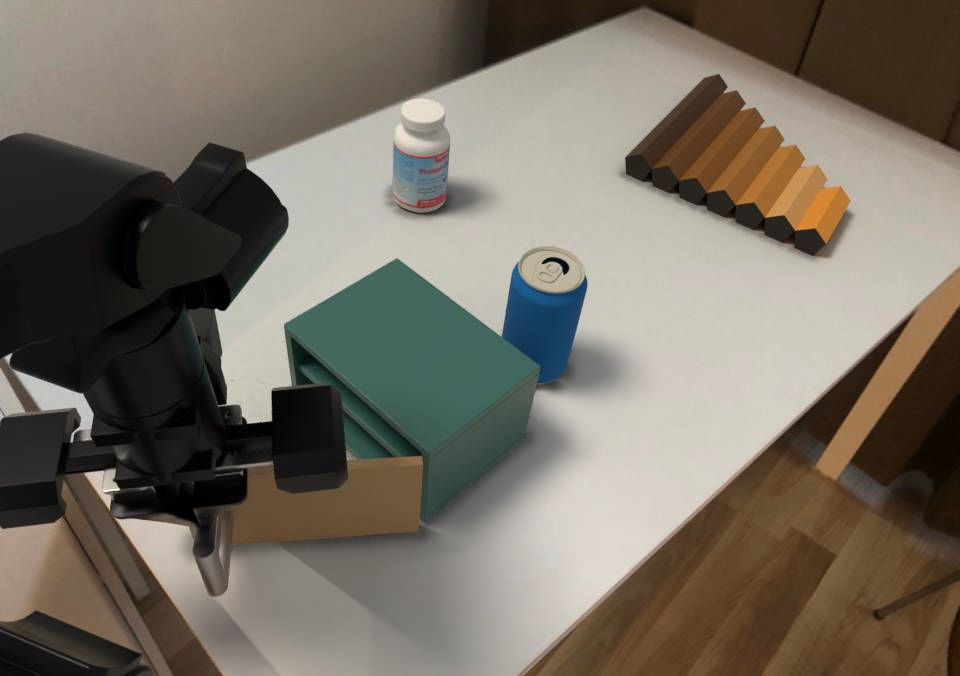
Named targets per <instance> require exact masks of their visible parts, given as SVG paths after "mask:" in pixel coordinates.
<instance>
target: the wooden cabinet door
mask: <svg viewBox="0 0 960 676" xmlns="http://www.w3.org/2000/svg"><path fill="white" fill-rule="evenodd" d="M347 467H348V480H347V481H346V482H345V483H344V484H343V485H342V486H341V487H340V488H338V489H330V490H322V491H313V492H305V493H297V494H292V493H289V492H286V491H283V490H280V489H277V486H276V482H275V477H274V467H273V464H272V465H266V466H258V467H249V468H248V496H247V499H246V501H245V502H244V503H242V504H240V505H237V506H230V507H228V508H227V509H225V510H224V511H223V512H221V513H220V514H219V515H218V516H217V517H216V519H215V520H214V522H213V524H212V525H211V527H203V528H194V527H188V528H189V531H190V534H191V537H192V540H193V542H192V549H191V551H192V555H193V558H194V560H195V563H196V567H197V570H198V572H199V574H200V577H201V580H202V582H203V585H204V587H205V591H206V593H207V594H208V596H211V597H212V598H218V597H221V596H223V595H224V594H225V593H226V592H227V590H228V588H229V578H230V568H231V567H230V566H231V556H232V546H237V545H238V546H239V545H253V544H264V543H265V544H266V543H279V542H293V541H305V540H307V541H308V540H320V539H335V538H346V537H347V538H348V537H350V538H351V537H363V536H376V535H378V536H379V535H389V534H391V535H392V534H404V533H417V532H419V531H420V521H421V519H420V504H421V489H422V473H423V459H422V456H411V457H394V458H376V459H359V460H357V459H347ZM193 484H194V482H193Z"/></svg>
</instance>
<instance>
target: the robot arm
mask: <svg viewBox="0 0 960 676" xmlns="http://www.w3.org/2000/svg"><path fill="white" fill-rule="evenodd" d="M289 222H290V216H289V212H288V209H287V207H286V206H285V205H283V203H282V202H281V199H280V198H279V197H278V195H277V194H276V192H275V191H274V190H273V188H272V187H270V185H269V184H268V183H267V182H266V181H265V180H264V179H262V178H261V177H260V176H259V175H257V174H256V173H255V172H253V171H252V170H250V169H249V168H248V166H247V161H246V156H245V152H243V151H240V150H238V149H234V148H230V147H228V146H224V145H220V144H217V143H213V142H210V141H209V142H208V143H207V144H205V146H203V147H202V149H201V150H200V151H199V152H197V154H196V155H195V156H194V158H193V160H192V161H191V162H190V164H189V165H188V167H187V168H186V169H185V170H184V171H183V172H181V174H180V175H179V176H178V177H177V178H176V179H175V180H174V181H173V180H172V179H171V178H169V176H167V174H166V172H164V171H162V170H158V169H155V168H151V167H149V166H144V165H142V164H138V163H136V162H132V161H128V160H126V159H121V158H118V157H115V156H111V155H108V154H105V153H102V152H98V151H96V150H92V149H89V148H85V147H82V146H79V145H75V144H72V143H68V142H66V141H62V140H58V139H56V138H52V137H49V136H45V135H42V134H40V133H39V134H38V133H32V132H21V133H16V134H15V133H14V134H11V135H8V136H6V137H4V138H2V139H0V360H2V359H4V358H6V357H7V356H9V355H10V358H9V362H8V364H9V367H10V369H11V370H13V371H16V372H18V373H21V374H24V375H26V376H29V377H32V378H35V379H38V380H40V381H44V382H46V383H49V384H52V385H54V386H57V387H59V388H63V389H66V390H69V391H71V392H74V393H77V394H82V396H83V397H84V399H85V401H86V403H87V405H88V407H89V409H90V410H91V413H92V414H93V416H92V422H91V428H89V429H88V428H86V429H79V428H80V427H81V422H82V417H81V415H80V413H79V411H78V409H77V408H76V407H67V408H56V409H46V410H35V411H26V412H17V413H10V414H8V415H5V416H3V417H2V418H1V419H0V528H1V529H2V530H7V529H15V528H16V529H17V528H24V527H32V526H40V525H41V526H42V525H49V524H55V523H57V521H59V520H60V519H61V518H63V516H65V515H66V511H67V507H68V503H67V502H66V501H65V499H64V497H63V496H62V493H63V487H64V481H65V476H69V475H78V474H87V473H97V472H103V474H102V481H101V483H102V484H101V491H102V493H103V494H104V495H107V496H108V495H109V496H110V505H109V513H110V514H111V516H112V517H113V518H115V519H116V520H139V521H148V522H158V523H165V524H171V525H178V526H183V527H188V528H189V527H194V528H203V527H211V525H212V524H213V522H214V520H215V519H216V517H217V516H218V515H219V514H220V513H221V512H223V511H224V510H225V509H227V508H228V507H230V506H237V505H240V504H242V503H244V502H245V501H246V499H247V496H248V468H249V467H258V466H266V465H272V464H273V467H274V477H275V482H276V486H277V489H280V490H283V491H286V492H289V493H292V494H297V493H305V492H313V491H322V490H330V489H338V488H340V487H341V486H342V485H343V484H344V483H345V482H346V481H347V480H348V467H347V460H348V457H347V449H346V444H345V432H344V420H343V408H342V398H341V391H340V390H339V389H338V388H337V387H335V386H334V385H333V384H332V383H331V382H328V383H318V384H308V385H297V386H292V385H289V386H281V387H280V386H277V387H272V389H271V393H270V394H271V395H270V396H271V397H270V398H271V400H270V401H271V420H269V421H261V422H250V423H248V420H247V418H246V417H245V416H243V410H242V406H241V404H236V403H235V404H228V386H227V382H226V379H225V376H224V371H223V368H222V357H223V347H222V342H221V336H220V330H219V326H218V325H219V324H218V320H217V314H216V310H217V311H220V312H226V311H227V309H228V308H229V307H230V306H231V305H232V304H233V302H234V300H235V299H236V298H237V297H238V295H239V294H240V293H241V291H243V289H244V288H245V287H246V286H247V284H248V283H249V281H250V280H251V279H252V278H253V276H254V275H255V274H256V273H257V271H258V270H259V269H260V267H261V266H262V265H263V264H264V262H265V261H266V260H267V258H268V257H269V256H270V255H271V253H272V252H273V251H274V249H275V248H276V247H277V245H278V244H279V242H281V240H282V239H283V238H284V236H285V235H286V234H287V231H288V229H289ZM78 429H79V430H78ZM73 433H74V434H73ZM72 436H73V439H72ZM193 482H194V484H193ZM143 657H144V655H143V653H141V652H139V651H136V650H133V649H131V648H129V647H126V646H124V645H122V644H119V643H117V642H114V641H112V640H109V639H107V638H104V637H103V636H100V635H97V634H95V633H93V632H90V631H87V630H85V629H83V628H81V627H78V626H76V625H73V624H70V623H68V622H66V621H64V620H61V619H59V618H56V617H53V616H51V615H49V614H47V613H45V612H42V611H40V610H34V611H32V612H31V613H30V614H28V615H26V616H25V617H23V618H20V619H17V620H13V621H3V620H0V676H154V670H153V668H152V667H151V666H150V665H148V664H146V663H144V662H141V661H142V660H143Z"/></svg>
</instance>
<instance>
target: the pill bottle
mask: <svg viewBox="0 0 960 676" xmlns="http://www.w3.org/2000/svg"><path fill="white" fill-rule="evenodd" d="M399 120H400V123H399V124H398V125H396V127H395V129H394V132H393V137H392V138H393V143H392V146H393V147H392V150H393V151H392V197H393V198H392V199H393V200H394V201H395V203H396V204H397V205H398V206H400V207H401V208H403V209H405V210H408V211H410V212H414V213H419V214H420V213H421V214H425V213H430V212H434V211H436V210H438V209H440V208H441V207H442V206H443V205H444V204H445V202H446V200H447V192H448V178H449V164H450V152H451V151H450V150H451V135H450V132H449V130H448V129H447V127H446V126H445V123H446V109H445V107H444V106H443V105H442V104H441V103H439V102H437V101H436V100H433V99H429V98H414V99H413V98H412V99H410V100H408V101H406V102H405V103H403V104H402V106H401V108H400V118H399Z"/></svg>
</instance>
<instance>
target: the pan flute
mask: <svg viewBox="0 0 960 676" xmlns="http://www.w3.org/2000/svg"><path fill="white" fill-rule="evenodd" d="M728 88H729V86H728V85H727V82H726V81H725V80H724V78H723V77H722V75H721V74H720V73H716V74H712V75H709V76H706V77H704V78H702V79H701V80H700V81H699V82H698V83H697V85H695V86H694V87H693V88H692V89H691V90H690V91H689V93H687V95H685V97H683V98H682V100H681V101H679V103H678V104H676V105H675V106H674V107H673V109H671V111H669V113H668V114H666V115H665V116H664V117H663V118H662V119H661V120H660V121H659V123H658V124H657V125H656V126H655V127H653V128H652V130H651V131H650V132H649V133H648V134H647V135H646V136H645V137H644V138H642V140H640V142H639V143H638V144H637V145H636V146H635V147H634V148H633V149H632V150H631V151H630V152H629V153H627V155H626V156H625V157H624V162H625V174H626V175H627V176H630V177H632V178H634V179H637V180H639V181H641V182H643V181H644V180H645V179H647V177H648V176H649V175H650V174H651V184H652V187H655V188H657V189H659V190H662V191H663V192H666V193H668V194H670V192H671V191H673V189H674V188H675V187H676V186H677V185H678V194H679V195H678V196H679V198H680V199H682V200H684V201H687V202H689V203H691V204H693V205H695V206H696V205H698V204H699V203H700V201H701V200H702V199H703V198H704V197H705V196H706V210H708V211H709V212H712V213H714V214H717V215H719V216H721V217H723V218H725V217H726V216H727V215H728V214H729V213H730V212H731V211H732V210H733V208H735V214H734V215H735V216H734V221H735V223H737V224H739V225H742V226H744V227H746V228H749V229H751V230H754V229H755V228H757V226H759V225H760V224H761V223H762V221H763V220H764V235H765V236H767V237H769V238H770V239H771V238H772V239H774V240H776V241H778V242H781V243H784V242H785V241H786V240H787V239H788V238H789V237H790V236H792V234H793V233H794V243H793V244H794V246H793V248H794V249H797V250H799V251H801V252H804V253H806V254H808V255H810V256H813V257H814V255H816V254H817V253H818V252H819V251H820V250H821V249H823V248H824V247H825V246H826V245H827V243H828V242H829V240H830V239H831V237H832V236H833V233H834V231H835V230H836V228H837V226H838V225H839V223H840V221H841V219H842V217H843V215H844V214H845V212H846V210H847V208H848V207H849V205H850V203H851V202H852V200H851V199H850V198H849V195H848V194H847V193H846V191H845V190H844V188H843V187H842V185H836V186H830V187H825V188H824V186H825V184H826V182H827V181H828V178H827V176H826V175H825V173H824V172H823V170H822V169H821V167H820V165H819V164H813V165H807V166H802V165H803V163H804V162H805V160H806V157H805V155H804V154H803V153H802V151H801V150H800V148H799V147H798V146H797V144H790V145H786V146H781V145H782V144H783V142H784V141H785V139H786V138H784V135H782V133H781V132H780V131H779V129H778V127H777V126H776V125H771V126H766V127H761V126H762V125H763V124H764V123H765V118H763V115H761V113H760V112H759V111H758V108H756V107H750V108H746V109H743V108H744V107H745V105H746V104H747V102H746V101H745V100H744V98H743V97H742V95H741V94H740V92H739V91H738V90H737V89H735V90H731V91H727V92H726V90H727V89H728ZM780 146H781V147H780ZM801 166H802V167H801Z"/></svg>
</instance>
